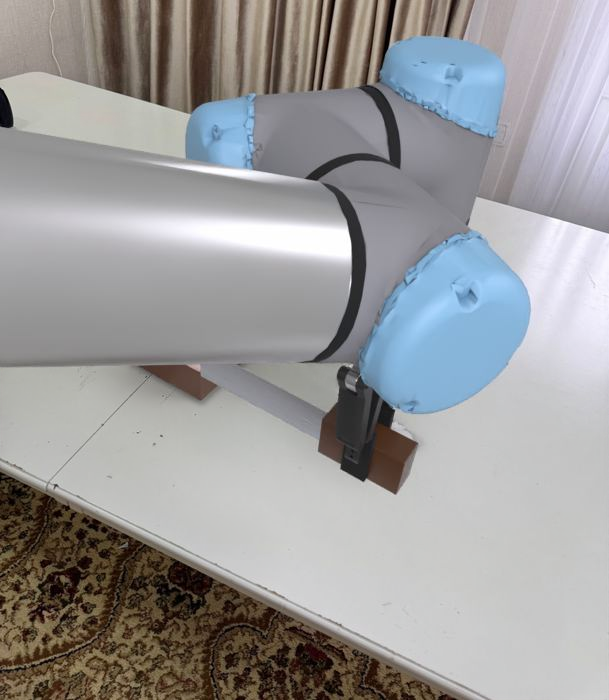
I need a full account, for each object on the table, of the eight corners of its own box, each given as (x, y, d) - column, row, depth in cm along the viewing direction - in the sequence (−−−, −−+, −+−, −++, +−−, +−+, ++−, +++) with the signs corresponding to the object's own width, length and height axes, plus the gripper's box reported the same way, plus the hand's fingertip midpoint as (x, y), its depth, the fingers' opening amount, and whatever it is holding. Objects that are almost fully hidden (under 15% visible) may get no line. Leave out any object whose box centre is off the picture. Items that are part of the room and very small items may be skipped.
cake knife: (409, 474, 62) (419, 442, 58) (395, 495, 60) (405, 463, 57) (210, 368, 71) (208, 335, 68) (192, 382, 69) (190, 349, 66)
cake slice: (201, 400, 84) (199, 368, 80) (134, 364, 88) (129, 332, 84) (228, 375, 88) (227, 343, 84) (163, 342, 92) (160, 310, 88)
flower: (415, 476, 78) (419, 465, 76) (352, 467, 79) (354, 456, 77) (416, 425, 83) (420, 414, 81) (357, 417, 84) (359, 405, 81)
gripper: (401, 343, 40) (355, 538, 56) (488, 239, 51) (429, 428, 66) (304, 299, 43) (286, 497, 59) (406, 209, 53) (368, 398, 69)
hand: (362, 460), depth 62 cm, fingers closed on cake knife, 3 cm apart
